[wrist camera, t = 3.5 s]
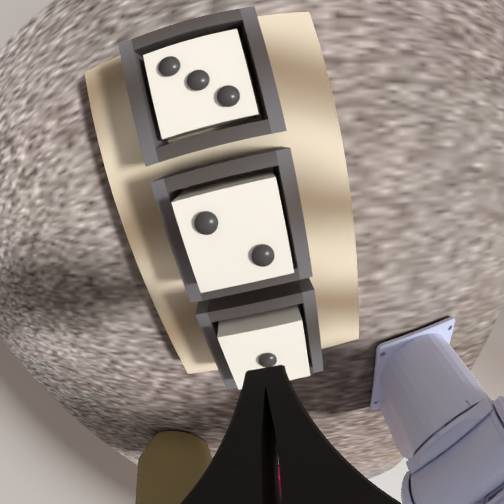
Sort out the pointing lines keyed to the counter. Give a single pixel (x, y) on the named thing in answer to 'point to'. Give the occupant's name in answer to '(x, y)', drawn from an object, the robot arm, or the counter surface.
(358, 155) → the counter surface
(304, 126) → the tile board
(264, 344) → the tile one
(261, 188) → the tile two
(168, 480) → the squeeze bottle
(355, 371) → the counter surface
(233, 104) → the tile three
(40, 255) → the counter surface
